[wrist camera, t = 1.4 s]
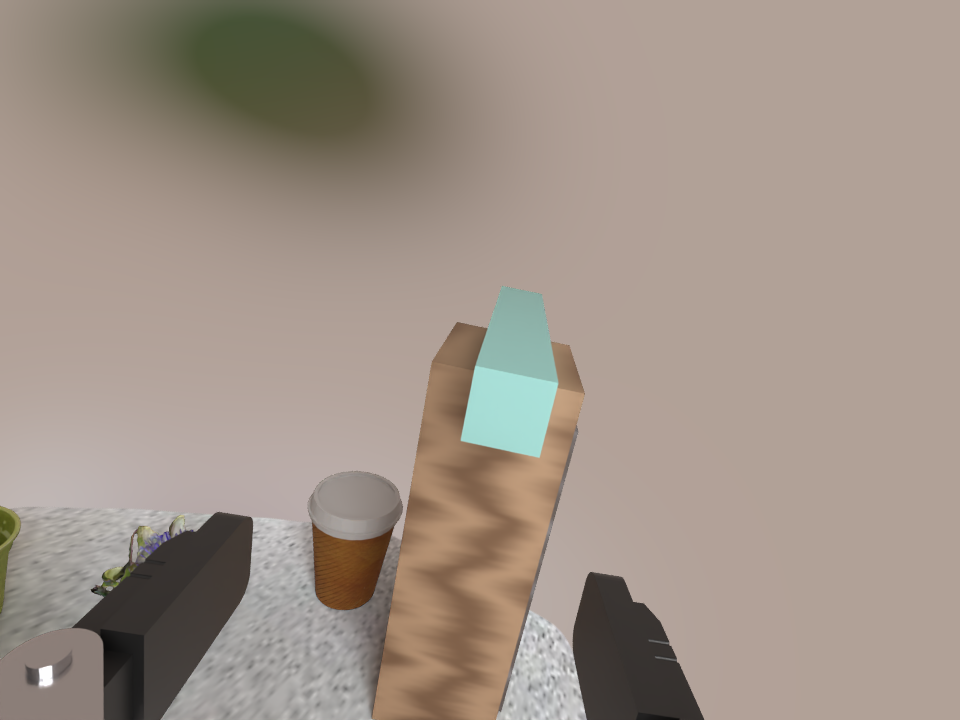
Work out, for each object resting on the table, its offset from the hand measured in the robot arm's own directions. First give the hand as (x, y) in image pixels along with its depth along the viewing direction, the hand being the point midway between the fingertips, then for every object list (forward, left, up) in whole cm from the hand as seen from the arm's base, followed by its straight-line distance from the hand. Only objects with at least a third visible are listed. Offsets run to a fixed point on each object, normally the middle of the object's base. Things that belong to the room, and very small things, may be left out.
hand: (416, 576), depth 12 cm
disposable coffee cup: (-10, +33, -34) cm, 49 cm away
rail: (+2, +22, -2) cm, 23 cm away
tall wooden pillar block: (+2, +26, -34) cm, 43 cm away
